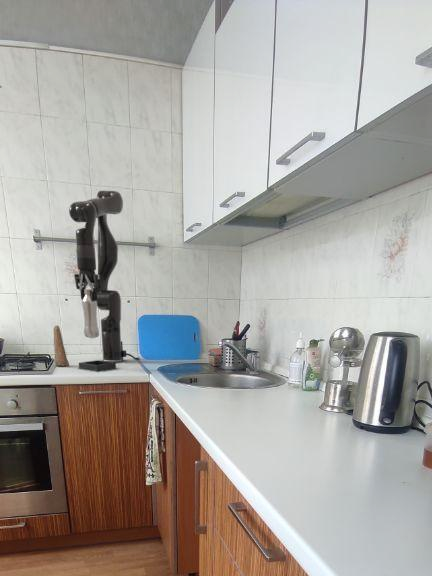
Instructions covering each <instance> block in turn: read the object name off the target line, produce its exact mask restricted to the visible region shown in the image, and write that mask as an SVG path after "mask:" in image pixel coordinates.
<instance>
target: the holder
mask: <svg viewBox="0 0 432 576" xmlns="http://www.w3.org/2000/svg"><path fill="white" fill-rule="evenodd" d="M78 369H80V370H84V371H91V372H102V371H109V370H115V369H117V362H106V361H103V360H100V359H97V360H96V359H95V360H89V361H81V362H78Z"/></svg>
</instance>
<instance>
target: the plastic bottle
mask: <svg viewBox="0 0 432 576" xmlns="http://www.w3.org/2000/svg"><path fill="white" fill-rule="evenodd" d="M91 291H92V290H91V289H87V288H86V289H84V294H85V296H84V298H83V300H81V306H82V311H83V316H84V317H83V319H84V329H83V333H84V336H85V338H88V339H96V338H99V336H100V330H99V325H98V317H97V311H98V310H97V309H98V307H97V302H96V301H92V294H91Z"/></svg>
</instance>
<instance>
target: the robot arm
mask: <svg viewBox="0 0 432 576" xmlns="http://www.w3.org/2000/svg"><path fill="white" fill-rule="evenodd" d="M123 209H124V200H123V197H122V194H121V193H120V192H119V191H117V190H98V192H97V194H96V197H94V198H91V199H87V200H84V201H83V200H82V201H74V202H72V203H71V204H70V206H69V207H68V213H69V217H70V218H71V220H72V221H74V222H75V223H85V225H84V226H83V227H82V228H78V229H76V230H75V242H76V249H75V250H76V252H75V253H76V264H77V269H78V270H79V272H78V273H75V274H74V275H73V276H74V282H75V287H76V290H79V292H80V300H81V301H82V300H83V298H84V296H85V294H84V289H87V287H88V286H89V288H90V290H92V291H91V294H92V301H96V302H97V309H98V310H100V311H107V312H108V315H107V316H106V317H102V318H101V320H100V330H101V331H100V332H101V333H100V334H101V353H102V361H106V362H113V363H120V362H124V358H127V356H128V357H131V358H132V359H134V360H140V357H135V356H134V355H133V354H130V353H127V350H124V348H123V341H122V335H121V334H122V333H121V320H122V297H121V293H119V291H118V290H114V289H108V287H109V281H110V278H111V276H112V274H113V272H114V270H115V269H116V266H117V264H118V260H119V246H118V242H117V241H116V239H115V237H114V235H113V233H112V232H111V229H110V227H109V224H108V218H107V217H108V215H119V214H121V213H122V211H123ZM96 221H97V261H96V250H95V249H96V248H95V240H94V239H95V238H94V233H95V226H96ZM96 262H97V263H96ZM96 270H97V273H96V272H95V271H96Z"/></svg>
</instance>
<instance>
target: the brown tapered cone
mask: <svg viewBox="0 0 432 576" xmlns="http://www.w3.org/2000/svg"><path fill="white" fill-rule="evenodd" d="M63 340H64V339H63V337H62V331H61V328H60V326H59V325H55V326H54V327H53V348H54V352H53V353H54V364H55V365H56V366H57V367H59V366H60V367H69V366H70V362H69V360H68V357H67V352H66V349H65V346H64V345H65V344H64V341H63Z"/></svg>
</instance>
